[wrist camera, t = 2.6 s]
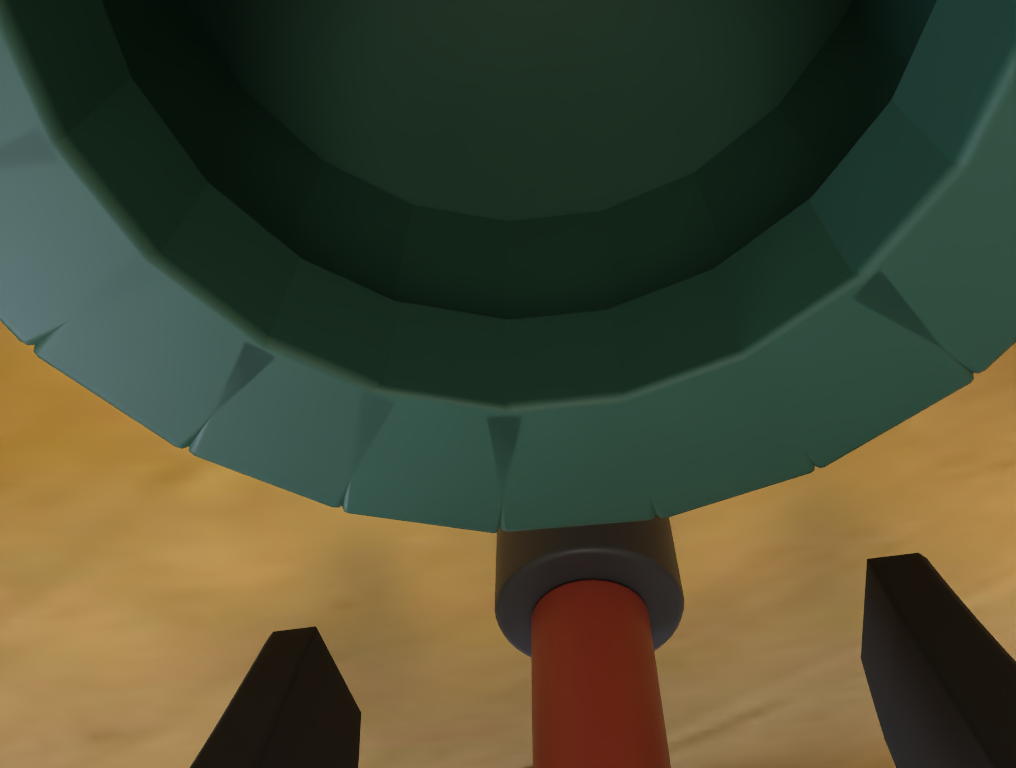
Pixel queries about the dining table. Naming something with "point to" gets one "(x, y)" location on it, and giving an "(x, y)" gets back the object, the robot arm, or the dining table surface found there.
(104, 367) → the teal tube ring
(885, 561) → the robot arm
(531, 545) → the red grey stepped cylinder
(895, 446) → the dining table surface
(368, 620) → the dining table surface
